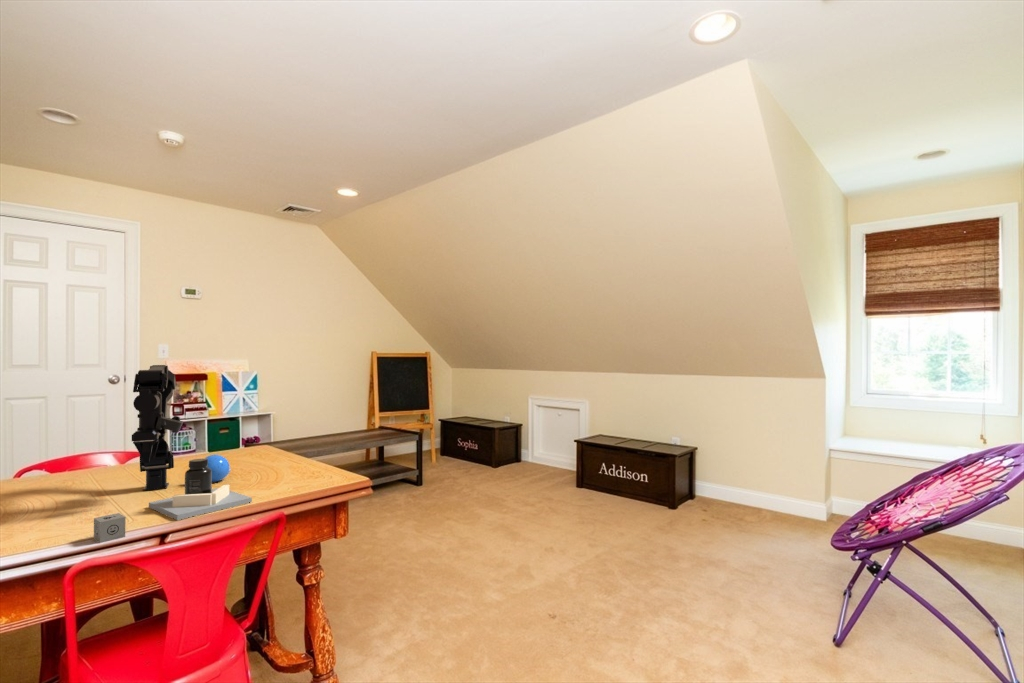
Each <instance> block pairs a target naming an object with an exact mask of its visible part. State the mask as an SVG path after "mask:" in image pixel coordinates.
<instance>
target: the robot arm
mask: <svg viewBox="0 0 1024 683" xmlns="http://www.w3.org/2000/svg"><path fill="white" fill-rule="evenodd" d="M176 383H177V382H176V374H175V373H174V372H172V371H171V370H169V367H168V365H165V364H153V365H150V366H149V369H139V370H138V372H137V373H135V376H134V382H133V389H132V392H133V393H139V395H137V396H136V397H135V398H134V400H133V407H134V409H135V411H136V410H137V412H138V413H137V418H138V427H137V430H136V431H135V432H133V433H132V434H131V442H132V444H133V445H134V446H135V449H137V451H138V453H139V472H141V473H142V472H145V486H144V488H143V489H142V492H144V491H145V492H146V491H153V490H163V489H167V488H168V486H169V485H170V482H167V481H168V480H167V473H168V471H167V470H171V469H173V468H174V467H175V462H174V460H175V459H174V454H172V451H171V450H170V447H169V444H168V443H167V441H166V439H165V437H166V434H167V433H168V432H167V430H168V431H171V432H173V433H179V432H180V431H181V429H182V426H183V424H184V421H183V420H181V417H180V416H177V415H174V416H173V417H171V418H170V417H167V411H168V402H169V400H171V399H172V398H173V396H174V390H176V387H177V384H176Z"/></svg>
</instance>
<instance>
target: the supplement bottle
mask: <svg viewBox="0 0 1024 683" xmlns="http://www.w3.org/2000/svg"><path fill="white" fill-rule="evenodd" d="M207 465H208V459H205V458H195V459H190V460H188V468H189V469H188V470H186V471H185V473H184V495H185V494H207V493H212V489H213V488H212V487H213V486H212V485H213V484H212V483H213V482H212V471H211V469H210V468H208V467H207Z"/></svg>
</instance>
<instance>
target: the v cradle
mask: <svg viewBox="0 0 1024 683" xmlns="http://www.w3.org/2000/svg"><path fill="white" fill-rule="evenodd" d="M249 502H252V503H253V498H252V496H248V495H245V494H242V493H239V492H236V491H233V490H230V484H223V485H221V486H220V487H217V488H212V493H207V494H185V493H184V494H174V495H173V496H172V497H169V498H164V499H160V500H159V499H158V500H155V501H154V500H153V501H149V502H148V508H149V509H151V508H152V509H151V510H153V509H154V510H153V511H155V510H156V511H155V512H157V511H158V513H159V512H160V513H159V514H161V515H164V514H165V515H164V516H166V515H167V516H166V517H168V516H169V517H168V518H170V517H172V518H171V519H173V518H174V519H173V520H175V519H176V520H175V521H177V520H178V521H181V520H180V519H182V520H185V519H184V518H187V517H191V518H193V517H192V516H195V517H197V516H196V515H199V516H201V515H200V514H203V515H205V514H204V513H207V514H210V513H209V512H211V513H214V512H213V511H215V512H218V511H217V510H219V511H222V510H221V509H224V510H227V509H226V508H228V509H230V507H232V508H234V507H235V506H236V507H239V506H238V505H240V506H242V505H241V504H244V505H246V504H245V503H248V504H250V503H249ZM236 507H235V508H236ZM187 519H188V518H187Z"/></svg>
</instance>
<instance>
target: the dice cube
mask: <svg viewBox="0 0 1024 683" xmlns="http://www.w3.org/2000/svg"><path fill="white" fill-rule="evenodd" d="M126 518H127V517H126V516H125V515H123V514H122V513H120V512H117V513H113V514H107V515H103V516H98V517H94V518H93V539H94V538H95V539H96V540H97V541H96V540H95V539H94V540H95V541H96V542H98V543H99V544H101V543H106V542H110V541H115V540H119V539H122V538H126Z"/></svg>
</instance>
